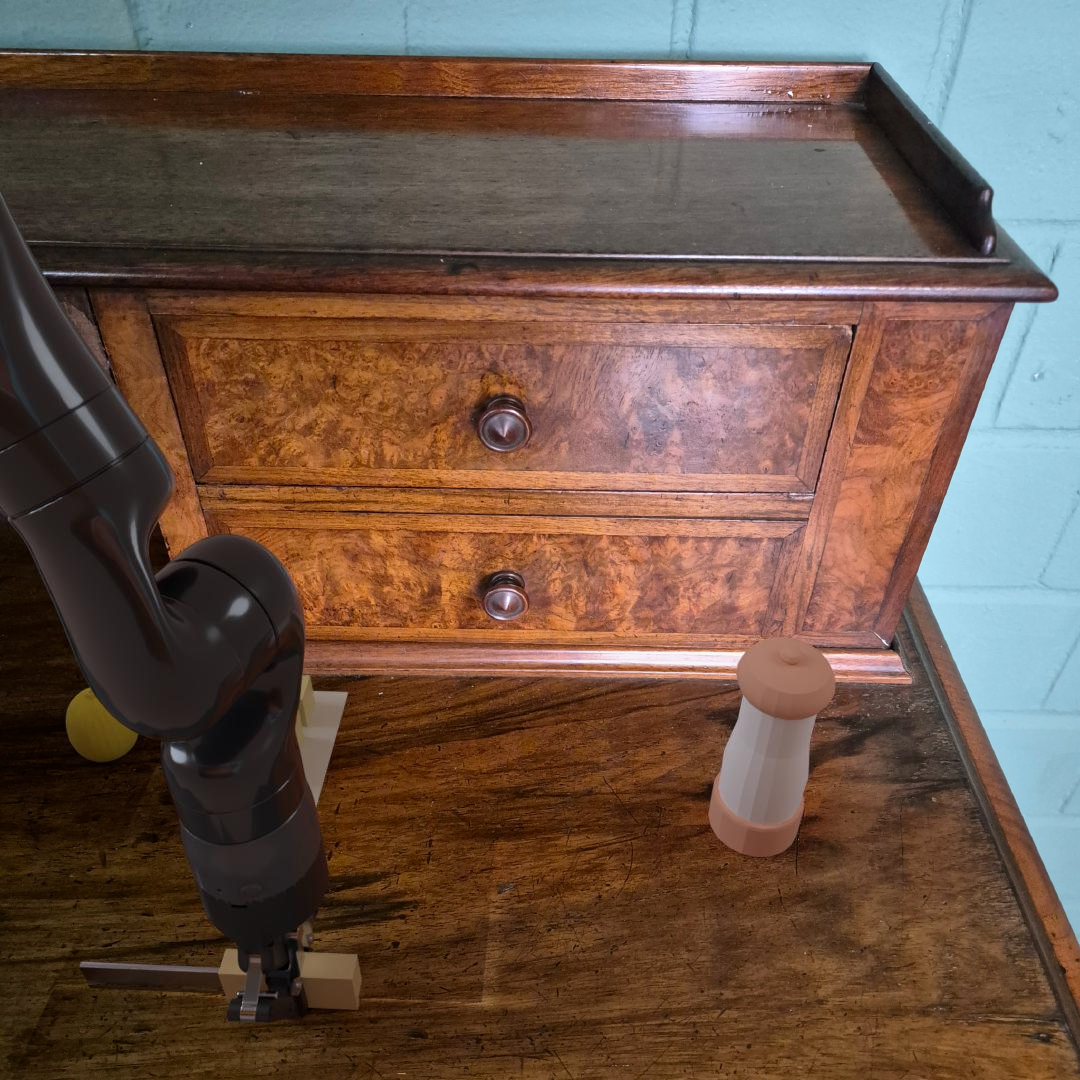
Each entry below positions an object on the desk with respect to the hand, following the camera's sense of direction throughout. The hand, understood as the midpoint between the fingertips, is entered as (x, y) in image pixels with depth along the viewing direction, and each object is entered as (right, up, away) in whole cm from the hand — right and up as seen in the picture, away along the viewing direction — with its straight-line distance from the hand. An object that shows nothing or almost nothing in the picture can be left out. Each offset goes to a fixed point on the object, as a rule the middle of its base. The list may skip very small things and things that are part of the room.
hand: (296, 994), depth 66 cm
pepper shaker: (+35, +8, +13) cm, 38 cm away
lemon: (-20, +13, +17) cm, 29 cm away
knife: (-5, 0, 0) cm, 5 cm away
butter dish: (-6, +13, +18) cm, 23 cm away
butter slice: (-6, +16, +20) cm, 26 cm away
